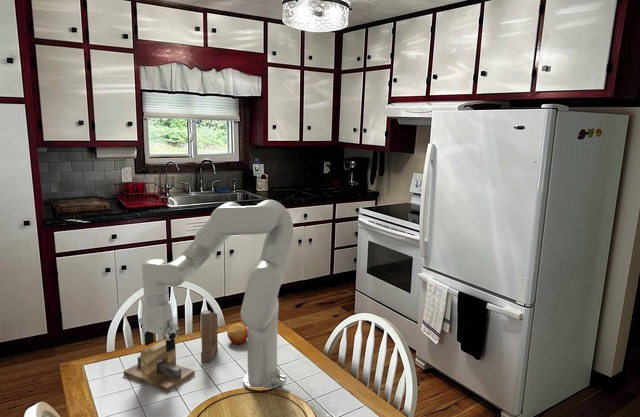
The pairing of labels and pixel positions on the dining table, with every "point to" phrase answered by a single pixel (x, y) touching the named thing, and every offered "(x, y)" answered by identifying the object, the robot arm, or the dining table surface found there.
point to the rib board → (161, 375)
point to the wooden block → (208, 335)
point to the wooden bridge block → (156, 359)
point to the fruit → (238, 333)
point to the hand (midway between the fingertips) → (159, 347)
